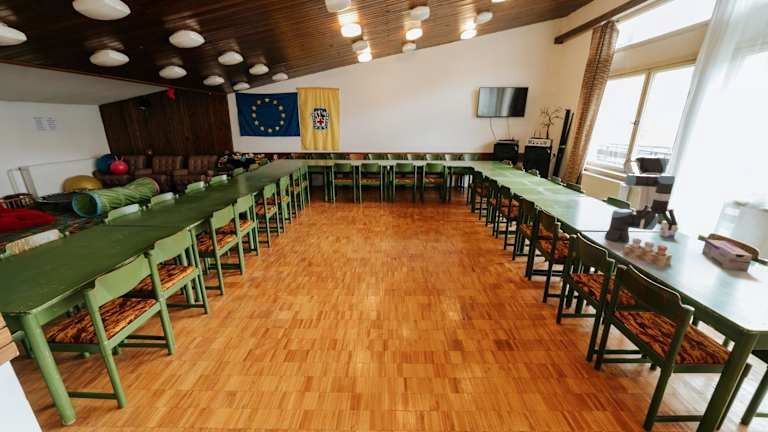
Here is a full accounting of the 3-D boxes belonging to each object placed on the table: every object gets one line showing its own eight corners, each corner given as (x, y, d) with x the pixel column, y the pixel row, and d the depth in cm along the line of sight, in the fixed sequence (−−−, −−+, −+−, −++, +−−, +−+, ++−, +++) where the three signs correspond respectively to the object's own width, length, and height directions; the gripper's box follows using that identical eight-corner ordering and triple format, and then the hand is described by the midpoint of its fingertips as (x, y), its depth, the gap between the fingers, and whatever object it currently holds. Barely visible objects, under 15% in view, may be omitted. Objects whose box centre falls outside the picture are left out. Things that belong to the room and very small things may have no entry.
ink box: (672, 236, 244) (676, 221, 241) (674, 238, 240) (678, 223, 237) (658, 234, 249) (662, 220, 246) (659, 236, 245) (663, 221, 242)
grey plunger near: (629, 249, 212) (631, 239, 210) (632, 248, 214) (635, 238, 212) (636, 251, 208) (639, 241, 206) (640, 250, 210) (643, 240, 208)
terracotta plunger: (653, 257, 200) (656, 246, 198) (657, 255, 202) (660, 244, 200) (662, 259, 196) (665, 248, 194) (666, 258, 198) (669, 247, 196)
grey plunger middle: (641, 253, 206) (643, 242, 204) (644, 251, 208) (647, 241, 206) (649, 255, 202) (651, 244, 200) (652, 254, 204) (655, 243, 202)
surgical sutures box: (701, 253, 212) (706, 239, 209) (722, 256, 209) (727, 241, 205) (723, 269, 190) (728, 253, 187) (746, 272, 186) (752, 255, 183)
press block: (622, 254, 213) (624, 246, 211) (630, 251, 217) (632, 243, 216) (662, 266, 194) (664, 257, 193) (670, 263, 199) (672, 254, 197)
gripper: (635, 196, 203) (628, 227, 209) (684, 204, 182) (674, 238, 188) (641, 195, 207) (634, 225, 213) (689, 203, 185) (680, 236, 191)
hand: (653, 231), depth 200 cm, fingers open, 13 cm apart
